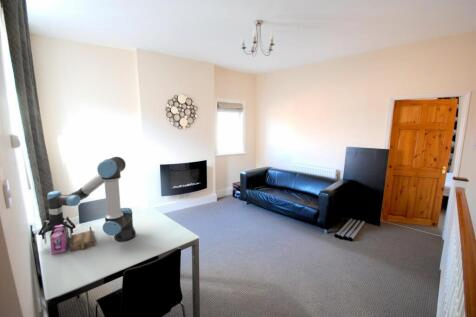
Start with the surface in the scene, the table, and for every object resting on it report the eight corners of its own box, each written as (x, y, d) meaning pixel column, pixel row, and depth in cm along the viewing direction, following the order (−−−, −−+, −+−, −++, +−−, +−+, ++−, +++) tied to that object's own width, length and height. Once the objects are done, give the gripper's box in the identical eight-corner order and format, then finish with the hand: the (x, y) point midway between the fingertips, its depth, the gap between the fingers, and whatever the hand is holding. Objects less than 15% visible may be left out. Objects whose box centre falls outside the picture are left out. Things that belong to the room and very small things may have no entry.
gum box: (65, 252, 158) (63, 234, 156) (50, 255, 154) (48, 237, 152) (69, 237, 179) (67, 221, 176) (56, 239, 175) (54, 223, 172)
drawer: (91, 231, 189) (90, 222, 187) (94, 246, 166) (93, 236, 165) (70, 236, 180) (69, 226, 179) (70, 253, 158) (69, 242, 156)
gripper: (77, 207, 173) (79, 233, 176) (32, 214, 158) (35, 242, 161) (78, 211, 167) (80, 237, 170) (31, 218, 152) (34, 247, 155)
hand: (58, 240), depth 166 cm, fingers open, 14 cm apart
